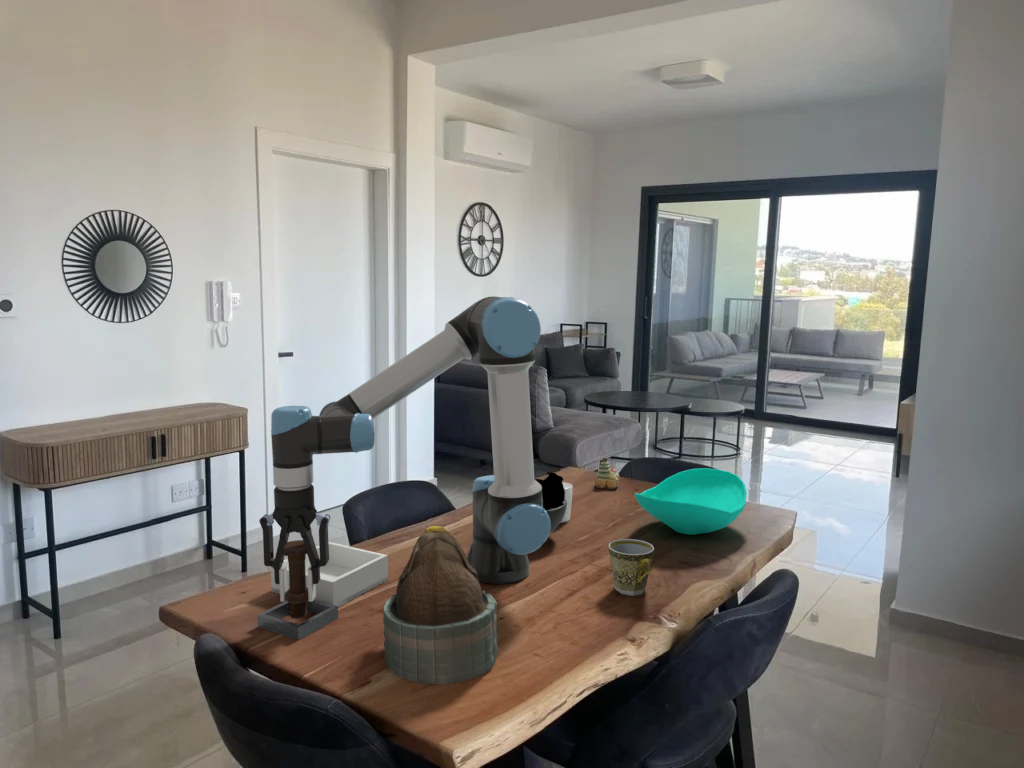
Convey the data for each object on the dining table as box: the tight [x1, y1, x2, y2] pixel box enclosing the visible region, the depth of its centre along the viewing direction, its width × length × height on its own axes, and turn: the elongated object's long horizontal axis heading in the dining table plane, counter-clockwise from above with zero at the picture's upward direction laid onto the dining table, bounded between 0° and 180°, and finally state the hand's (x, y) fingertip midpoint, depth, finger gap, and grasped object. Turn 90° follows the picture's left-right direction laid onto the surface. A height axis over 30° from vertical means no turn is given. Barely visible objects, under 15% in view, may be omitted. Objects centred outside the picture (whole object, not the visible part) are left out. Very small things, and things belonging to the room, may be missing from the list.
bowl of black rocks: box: [534, 472, 567, 534], centre depth 203 cm, size 20×20×19 cm
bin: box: [270, 541, 389, 608], centre depth 171 cm, size 18×18×6 cm
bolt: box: [283, 539, 309, 620], centre depth 152 cm, size 6×5×15 cm
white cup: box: [560, 481, 573, 524], centre depth 219 cm, size 8×8×10 cm
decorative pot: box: [382, 525, 499, 685], centre depth 141 cm, size 23×25×22 cm
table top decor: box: [634, 467, 748, 536], centre depth 209 cm, size 40×28×13 cm
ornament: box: [594, 457, 620, 490], centre depth 253 cm, size 8×6×10 cm
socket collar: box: [256, 600, 339, 641], centre depth 153 cm, size 11×11×2 cm
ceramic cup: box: [608, 538, 655, 597], centre depth 168 cm, size 13×10×10 cm
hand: (298, 598), depth 152 cm, fingers closed on bolt, 5 cm apart
